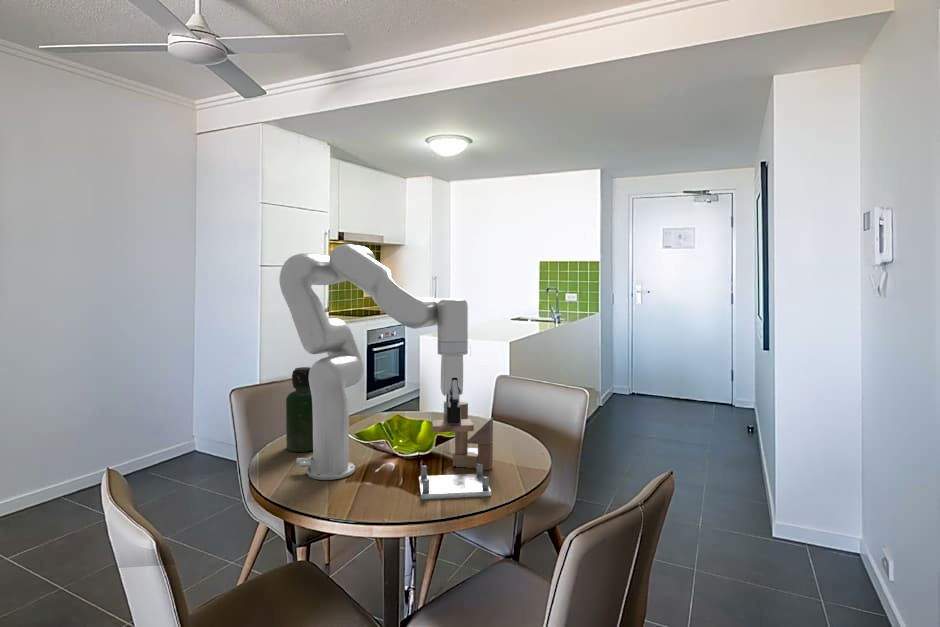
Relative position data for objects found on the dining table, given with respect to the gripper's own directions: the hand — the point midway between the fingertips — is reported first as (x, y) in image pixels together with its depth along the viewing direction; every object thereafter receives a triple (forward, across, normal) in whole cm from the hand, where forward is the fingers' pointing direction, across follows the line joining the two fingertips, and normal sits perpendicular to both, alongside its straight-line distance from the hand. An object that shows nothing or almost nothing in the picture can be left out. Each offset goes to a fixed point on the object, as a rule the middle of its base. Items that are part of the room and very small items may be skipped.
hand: (452, 419), depth 132 cm
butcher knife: (+18, -23, +7) cm, 30 cm away
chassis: (+17, 0, 0) cm, 17 cm away
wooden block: (+18, -15, +7) cm, 25 cm away
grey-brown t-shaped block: (+2, 0, 0) cm, 2 cm away
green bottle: (+17, -38, -43) cm, 60 cm away
